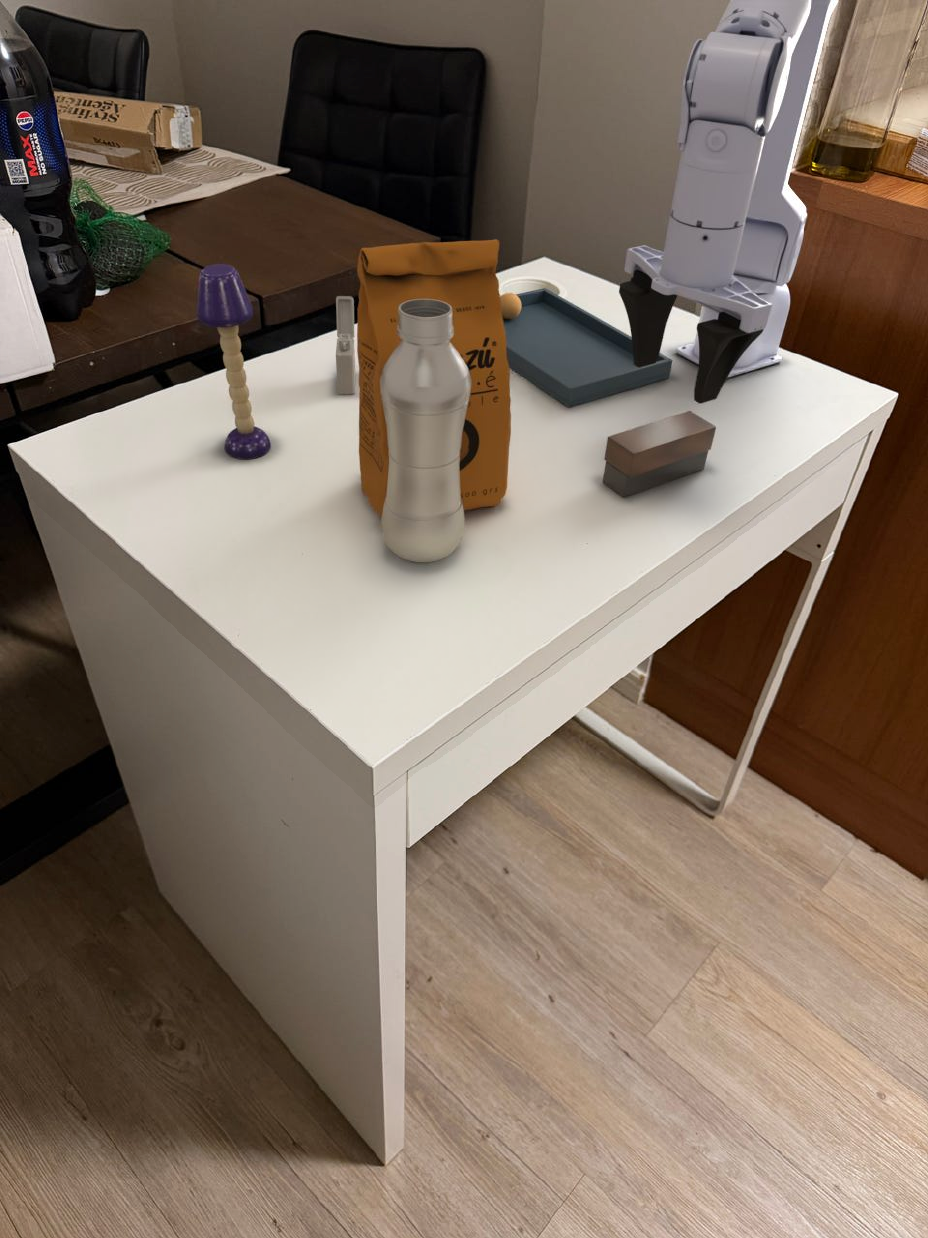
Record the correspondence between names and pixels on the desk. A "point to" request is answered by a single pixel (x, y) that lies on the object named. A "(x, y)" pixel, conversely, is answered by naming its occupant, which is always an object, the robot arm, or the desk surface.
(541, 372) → the tray
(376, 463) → the coffee package
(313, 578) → the desk surface
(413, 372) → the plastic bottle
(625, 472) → the brush
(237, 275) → the toy lamp
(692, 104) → the robot arm
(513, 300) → the wooden bead
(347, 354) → the lighter
